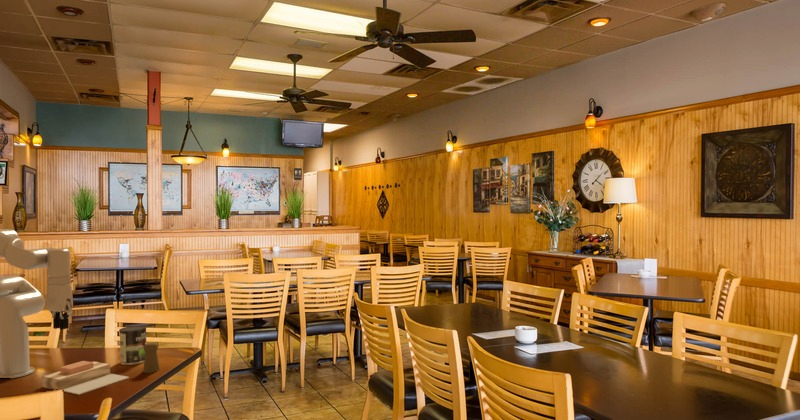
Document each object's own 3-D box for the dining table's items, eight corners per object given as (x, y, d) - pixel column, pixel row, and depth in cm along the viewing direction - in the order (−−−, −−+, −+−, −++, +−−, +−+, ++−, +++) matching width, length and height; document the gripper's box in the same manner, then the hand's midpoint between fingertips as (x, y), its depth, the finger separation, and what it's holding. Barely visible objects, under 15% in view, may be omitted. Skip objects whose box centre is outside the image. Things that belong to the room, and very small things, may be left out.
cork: (162, 368, 224) (161, 340, 224) (156, 372, 218) (155, 344, 218) (147, 368, 224) (146, 341, 224) (140, 373, 218) (139, 345, 218)
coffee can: (152, 358, 239) (151, 325, 238) (136, 365, 229) (135, 331, 228) (131, 357, 241) (130, 325, 241) (114, 364, 231) (113, 330, 230)
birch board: (42, 387, 204) (42, 376, 204) (93, 371, 222) (93, 361, 222) (59, 390, 199) (59, 379, 199) (110, 374, 217) (110, 364, 217)
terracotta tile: (60, 372, 208) (60, 367, 208) (83, 365, 216) (83, 360, 216) (70, 374, 205) (70, 369, 205) (93, 367, 213) (93, 362, 213)
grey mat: (59, 390, 199) (59, 389, 199) (110, 374, 217) (110, 373, 217) (79, 395, 195) (79, 393, 195) (129, 378, 212) (129, 377, 212)
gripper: (36, 281, 214) (38, 328, 215) (63, 283, 207) (64, 332, 207) (56, 278, 221) (57, 324, 221) (82, 280, 214) (84, 328, 214)
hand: (61, 328), depth 214 cm, fingers open, 3 cm apart
